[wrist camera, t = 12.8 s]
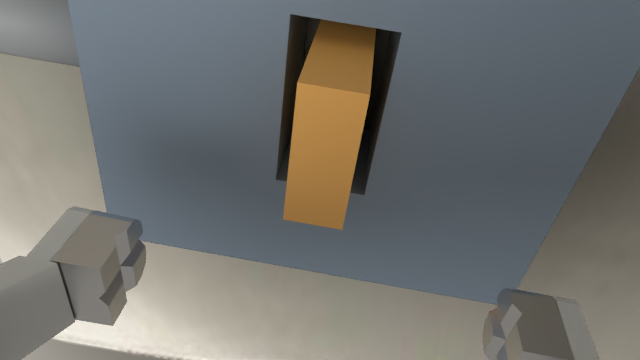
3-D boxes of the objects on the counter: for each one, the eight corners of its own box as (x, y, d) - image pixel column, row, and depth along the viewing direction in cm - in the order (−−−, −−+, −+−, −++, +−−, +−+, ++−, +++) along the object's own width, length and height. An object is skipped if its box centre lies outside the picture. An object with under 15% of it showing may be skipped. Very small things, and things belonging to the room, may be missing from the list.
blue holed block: (650, -125, 16) (736, -107, 12) (489, 230, 26) (506, 306, 22) (-224, -261, 17) (-418, -288, 13) (-62, 133, 26) (-144, 189, 22)
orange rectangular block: (329, -3, 20) (297, 82, 13) (378, 5, 20) (370, 94, 13) (314, 106, 23) (283, 219, 16) (357, 114, 23) (342, 230, 16)
